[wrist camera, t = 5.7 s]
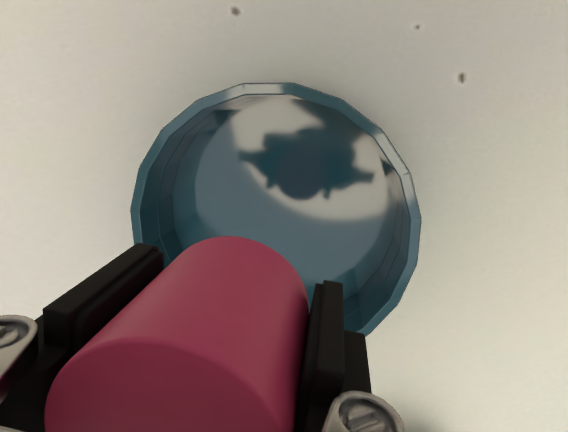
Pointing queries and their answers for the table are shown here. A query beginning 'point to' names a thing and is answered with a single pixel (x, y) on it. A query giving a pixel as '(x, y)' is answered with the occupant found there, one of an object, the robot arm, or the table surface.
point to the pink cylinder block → (194, 350)
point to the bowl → (286, 191)
